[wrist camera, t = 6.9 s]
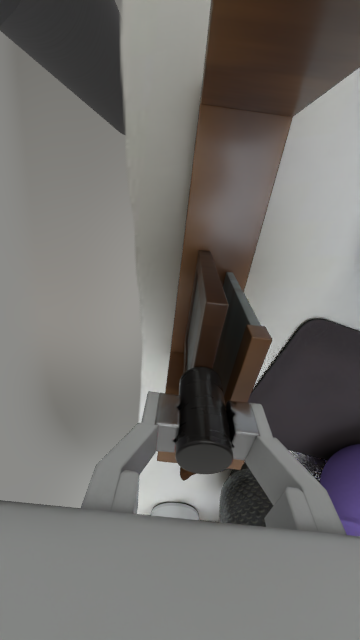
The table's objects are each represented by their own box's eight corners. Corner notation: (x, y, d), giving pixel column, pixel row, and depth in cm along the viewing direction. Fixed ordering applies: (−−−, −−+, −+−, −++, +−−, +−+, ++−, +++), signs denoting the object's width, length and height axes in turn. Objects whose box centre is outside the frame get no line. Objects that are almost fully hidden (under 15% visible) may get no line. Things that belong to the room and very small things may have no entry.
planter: (201, 483, 40) (205, 594, 29) (236, 441, 34) (259, 565, 23) (269, 498, 42) (297, 608, 31) (315, 462, 36) (372, 585, 24)
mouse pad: (222, 431, 33) (222, 433, 32) (309, 313, 22) (310, 314, 22) (363, 468, 36) (364, 469, 36) (495, 379, 26) (498, 380, 25)
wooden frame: (170, 354, 26) (156, 461, 16) (202, 81, 15) (233, -195, 4) (220, 360, 26) (240, 470, 16) (292, 94, 15) (536, -143, 4)
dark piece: (178, 340, 23) (165, 510, 11) (191, 248, 18) (193, 362, 6) (199, 343, 23) (210, 514, 11) (218, 252, 18) (273, 371, 6)
